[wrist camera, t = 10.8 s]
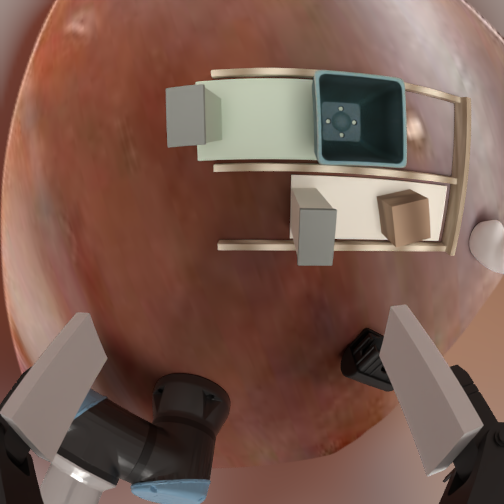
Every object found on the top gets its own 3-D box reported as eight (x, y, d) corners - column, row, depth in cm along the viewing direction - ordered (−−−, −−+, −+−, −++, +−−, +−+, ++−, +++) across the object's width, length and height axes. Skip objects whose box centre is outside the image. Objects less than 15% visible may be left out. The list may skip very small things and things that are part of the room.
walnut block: (381, 232, 36) (395, 247, 31) (376, 196, 34) (391, 206, 29) (413, 224, 35) (430, 237, 30) (409, 189, 33) (428, 198, 29)
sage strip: (198, 160, 34) (169, 173, 24) (195, 82, 30) (165, 63, 20) (377, 163, 33) (419, 179, 23) (378, 88, 29) (421, 75, 19)
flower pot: (301, 84, 29) (313, 68, 21) (373, 89, 29) (405, 78, 20) (304, 156, 33) (317, 165, 24) (374, 158, 32) (406, 168, 24)
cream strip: (288, 237, 37) (297, 278, 27) (290, 174, 34) (300, 193, 24) (436, 239, 36) (478, 274, 26) (445, 185, 33) (494, 207, 23)
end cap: (336, 355, 45) (343, 384, 39) (364, 325, 42) (376, 354, 36) (375, 371, 47) (385, 398, 40) (402, 345, 44) (415, 371, 38)
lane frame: (219, 245, 38) (216, 254, 35) (213, 72, 29) (208, 67, 27) (444, 247, 36) (454, 255, 34) (458, 99, 28) (470, 98, 25)
